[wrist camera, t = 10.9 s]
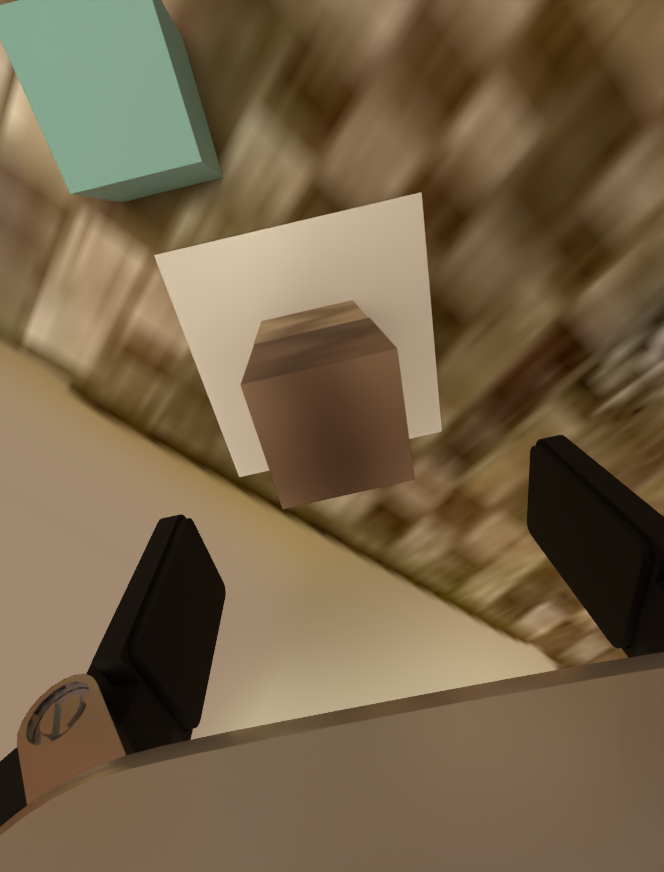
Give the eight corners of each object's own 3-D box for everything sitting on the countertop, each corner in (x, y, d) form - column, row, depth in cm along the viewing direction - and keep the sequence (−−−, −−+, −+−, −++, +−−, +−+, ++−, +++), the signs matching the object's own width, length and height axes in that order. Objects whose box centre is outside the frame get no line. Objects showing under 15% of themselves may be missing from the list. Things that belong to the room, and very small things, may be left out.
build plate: (416, 193, 24) (421, 192, 23) (437, 426, 31) (441, 431, 30) (159, 254, 24) (153, 255, 23) (240, 470, 31) (239, 477, 31)
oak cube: (352, 299, 25) (368, 318, 20) (367, 386, 28) (385, 422, 23) (261, 321, 25) (253, 344, 20) (285, 404, 28) (283, 445, 23)
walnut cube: (369, 317, 20) (397, 348, 15) (386, 421, 23) (414, 479, 17) (254, 344, 20) (240, 384, 15) (285, 444, 23) (282, 509, 18)
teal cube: (182, 38, 20) (142, -32, 15) (223, 177, 23) (201, 161, 17) (68, 67, 20) (-14, 8, 15) (122, 202, 23) (70, 193, 17)
